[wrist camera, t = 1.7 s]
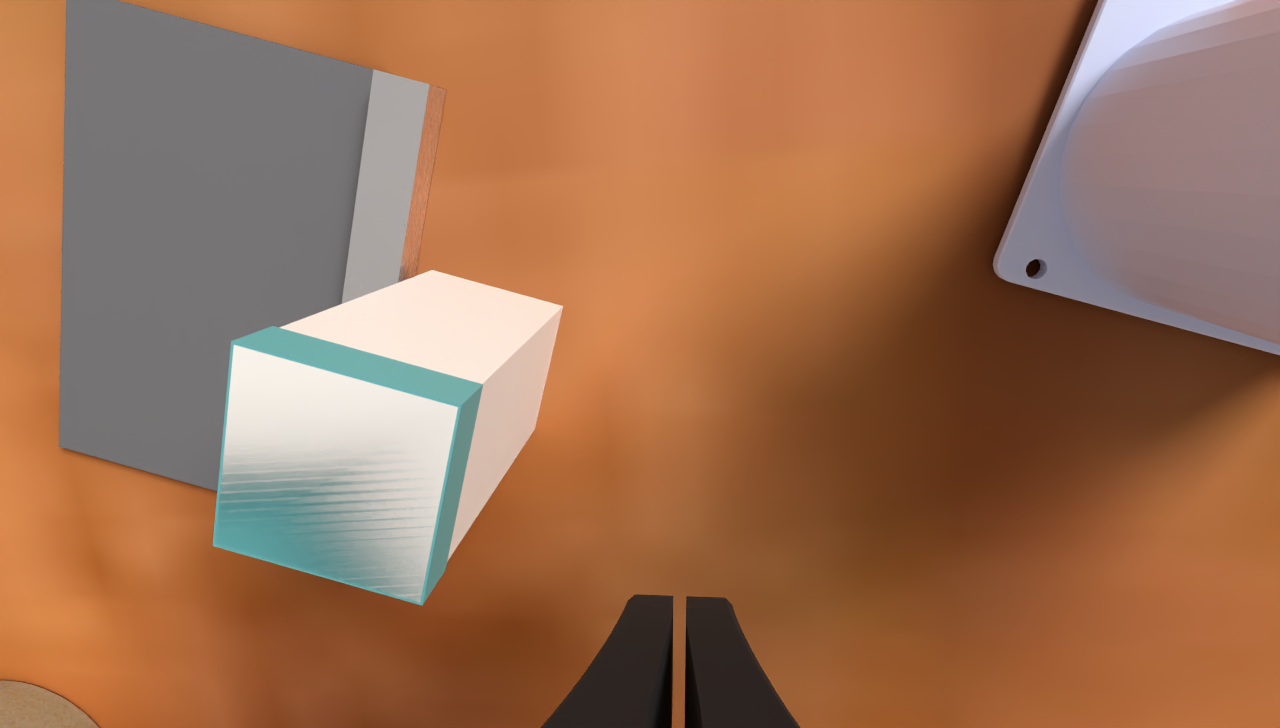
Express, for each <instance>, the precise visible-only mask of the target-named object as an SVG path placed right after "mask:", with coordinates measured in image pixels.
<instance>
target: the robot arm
mask: <svg viewBox="0 0 1280 728" xmlns="http://www.w3.org/2000/svg"><path fill="white" fill-rule="evenodd" d="M1034 259H1038V260H1039V262H1040V270H1039V271H1038V273H1037V274H1036V275H1034V276H1032V277H1028V276H1027V273H1026V266H1027V265H1028V264H1029V262H1030V261H1032V260H1034ZM993 268H994V272H995V273H996V274H997V276H998V277H999V278H1001V279H1003V280H1006V281H1008V282H1011V283H1015V284H1019V285H1022V286H1026V287H1030V288H1033V289H1037V290H1041V291H1044V292H1048V293H1052V294H1055V295H1059V296H1063V297H1066V298H1070V299H1074V300H1078V301H1081V302H1085V303H1089V304H1092V305H1096V306H1100V307H1103V308H1107V309H1111V310H1114V311H1118V312H1122V313H1126V314H1129V315H1133V316H1137V317H1140V318H1144V319H1148V320H1151V321H1155V322H1159V323H1162V324H1166V325H1170V326H1173V327H1177V328H1181V329H1185V330H1188V331H1192V332H1196V333H1199V334H1203V335H1207V336H1210V337H1214V338H1218V339H1221V340H1225V341H1229V342H1232V343H1236V344H1240V345H1244V346H1247V347H1251V348H1255V349H1258V350H1262V351H1266V352H1269V353H1273V354H1277V355H1280V0H1098V3H1097V5H1096V8H1095V10H1094V13H1093V15H1092V17H1091V20H1090V22H1089V25H1088V27H1087V30H1086V32H1085V35H1084V37H1083V40H1082V42H1081V45H1080V47H1079V49H1078V52H1077V54H1076V57H1075V59H1074V62H1073V64H1072V67H1071V69H1070V72H1069V74H1068V77H1067V79H1066V82H1065V84H1064V86H1063V89H1062V91H1061V94H1060V96H1059V99H1058V101H1057V104H1056V106H1055V109H1054V111H1053V114H1052V116H1051V118H1050V121H1049V123H1048V126H1047V128H1046V131H1045V133H1044V136H1043V138H1042V141H1041V143H1040V146H1039V148H1038V151H1037V153H1036V155H1035V158H1034V160H1033V163H1032V165H1031V168H1030V170H1029V173H1028V175H1027V178H1026V180H1025V183H1024V185H1023V188H1022V190H1021V192H1020V195H1019V197H1018V200H1017V202H1016V205H1015V207H1014V210H1013V212H1012V215H1011V217H1010V220H1009V222H1008V224H1007V227H1006V229H1005V232H1004V234H1003V237H1002V239H1001V242H1000V244H999V247H998V249H997V252H996V254H995V257H994V261H993ZM672 684H673V596H660V595H634V596H633V597H632V598H631V599H629V600H628V602H627V604H626V607H625V609H624V611H623V613H622V615H621V617H620V618H619V620H618V622H617V624H616V626H615V627H614V629H613V631H612V632H611V634H610V636H609V637H608V639H607V641H606V642H605V644H604V645H603V647H602V648H601V650H600V651H599V653H598V654H597V656H596V657H595V659H594V660H593V661H592V663H591V664H590V666H589V667H588V669H587V670H586V672H585V673H584V675H583V676H582V677H581V679H580V680H579V681H578V683H577V684H576V685H575V686H574V688H573V689H572V690H571V692H570V693H569V694H568V695H567V697H566V698H565V699H564V700H563V702H562V703H561V704H560V705H559V707H558V708H557V709H556V710H555V712H554V713H553V714H552V715H551V717H550V718H549V719H548V720H547V721H546V722H545V723H544V725H543V726H542V727H541V728H672ZM685 728H800V727H799V725H798V724H797V722H796V721H795V719H794V718H793V717H792V715H791V714H790V712H789V711H788V709H787V708H786V706H785V705H784V703H783V702H782V700H781V699H780V697H779V696H778V694H777V693H776V691H775V689H774V688H773V686H772V684H771V683H770V681H769V679H768V678H767V676H766V674H765V673H764V671H763V669H762V668H761V666H760V664H759V662H758V661H757V659H756V657H755V655H754V653H753V652H752V650H751V648H750V646H749V644H748V642H747V640H746V638H745V636H744V634H743V632H742V629H741V627H740V625H739V623H738V620H737V618H736V615H735V613H734V610H733V607H732V604H731V603H730V602H729V601H728V600H727V599H726V598H714V597H687V601H686V667H685Z"/></svg>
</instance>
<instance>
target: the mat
mask: <svg viewBox="0 0 1280 728" xmlns="http://www.w3.org/2000/svg"><path fill="white" fill-rule="evenodd" d="M372 77H373V69H370V68H366V67H362V66H358V65H355V64H351V63H347V62H344V61H340V60H336V59H333V58H329V57H325V56H321V55H318V54H314V53H310V52H307V51H303V50H299V49H295V48H292V47H288V46H284V45H281V44H277V43H273V42H270V41H266V40H262V39H258V38H255V37H251V36H247V35H244V34H240V33H236V32H232V31H229V30H225V29H221V28H218V27H214V26H210V25H207V24H203V23H199V22H195V21H192V20H188V19H184V18H181V17H177V16H173V15H169V14H166V13H162V12H158V11H155V10H151V9H147V8H144V7H140V6H136V5H132V4H129V3H125V2H121V1H118V0H66V55H65V113H64V171H63V230H62V288H61V347H60V405H59V447H62V448H66V449H70V450H73V451H77V452H80V453H84V454H87V455H91V456H94V457H98V458H101V459H105V460H108V461H112V462H115V463H119V464H122V465H126V466H129V467H133V468H136V469H140V470H143V471H147V472H151V473H154V474H158V475H161V476H165V477H168V478H172V479H175V480H179V481H182V482H186V483H189V484H193V485H196V486H200V487H203V488H207V489H210V490H214V491H217V492H218V481H219V470H220V459H221V448H222V437H223V426H224V415H225V404H226V393H227V382H228V371H229V360H230V349H231V341H233V340H236V339H239V338H241V337H244V336H247V335H249V334H252V333H255V332H258V331H260V330H263V329H266V328H268V327H271V326H275V327H282V326H285V325H287V324H290V323H293V322H295V321H298V320H301V319H303V318H306V317H309V316H311V315H314V314H317V313H319V312H322V311H325V310H327V309H330V308H333V307H335V306H338V305H341V304H342V297H343V289H344V282H345V275H346V267H347V260H348V253H349V245H350V238H351V231H352V223H353V216H354V209H355V201H356V194H357V187H358V179H359V172H360V165H361V157H362V150H363V143H364V135H365V128H366V121H367V113H368V106H369V99H370V91H371V84H372Z"/></svg>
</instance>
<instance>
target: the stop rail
mask: <svg viewBox="0 0 1280 728" xmlns="http://www.w3.org/2000/svg"><path fill="white" fill-rule="evenodd" d="M445 93H446V89H444V88H440V87H437V86H433V85H430V84H426V83H422V82H419V81H415V80H411V79H408V78H404V77H400V76H396V75H393V74H389V73H385V72H382V71H378V70H374V69H373V77H372V84H371V91H370V99H369V106H368V113H367V121H366V128H365V135H364V143H363V150H362V157H361V165H360V172H359V179H358V187H357V194H356V201H355V209H354V216H353V223H352V231H351V238H350V245H349V253H348V260H347V267H346V275H345V282H344V289H343V297H342V304H343V303H346V302H348V301H351V300H354V299H356V298H359V297H362V296H364V295H367V294H370V293H372V292H375V291H378V290H380V289H383V288H386V287H388V286H391V285H394V284H396V283H399V282H402V281H404V280H407V279H410V278H412V277H415V274H416V268H417V262H418V256H419V250H420V244H421V238H422V232H423V226H424V220H425V214H426V208H427V202H428V196H429V190H430V184H431V178H432V172H433V166H434V160H435V154H436V148H437V142H438V136H439V130H440V124H441V117H442V111H443V105H444V99H445Z"/></svg>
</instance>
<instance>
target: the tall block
mask: <svg viewBox="0 0 1280 728" xmlns="http://www.w3.org/2000/svg"><path fill="white" fill-rule="evenodd" d="M562 309H563V306H561V305H557V304H553V303H550V302H546V301H543V300H539V299H535V298H532V297H528V296H524V295H521V294H517V293H514V292H510V291H506V290H503V289H499V288H495V287H492V286H488V285H484V284H481V283H477V282H474V281H470V280H466V279H463V278H459V277H455V276H452V275H448V274H444V273H441V272H437V271H434V270H431V271H428V272H426V273H423V274H420V275H418V276H415V277H412V278H410V279H407V280H404V281H402V282H399V283H396V284H394V285H391V286H388V287H386V288H383V289H380V290H378V291H375V292H372V293H370V294H367V295H364V296H362V297H359V298H356V299H354V300H351V301H348V302H346V303H343V304H341V305H338V306H335V307H333V308H330V309H327V310H325V311H322V312H319V313H317V314H314V315H311V316H309V317H306V318H303V319H301V320H298V321H295V322H293V323H290V324H287V325H285V326H282V327H275V326H271V327H268V328H266V329H263V330H260V331H258V332H255V333H252V334H249V335H247V336H244V337H241V338H239V339H236V340H233V341H231V349H230V360H229V371H228V382H227V393H226V404H225V415H224V426H223V437H222V448H221V459H220V470H219V481H218V492H217V503H216V514H215V525H214V536H213V546H215V547H218V548H222V549H226V550H229V551H233V552H236V553H240V554H243V555H247V556H250V557H254V558H257V559H261V560H264V561H268V562H271V563H275V564H278V565H282V566H285V567H289V568H292V569H296V570H299V571H303V572H306V573H310V574H313V575H317V576H320V577H324V578H327V579H331V580H334V581H338V582H341V583H345V584H348V585H352V586H355V587H359V588H362V589H366V590H369V591H373V592H376V593H380V594H383V595H387V596H391V597H394V598H398V599H401V600H405V601H408V602H412V603H415V604H419V605H423V604H424V602H425V601H426V599H427V598H428V596H429V595H430V593H431V591H432V590H433V588H434V587H435V585H436V584H437V582H438V581H439V579H440V578H441V576H442V575H443V573H444V572H445V570H446V565H447V561H448V560H449V558H450V557H451V555H452V554H453V552H454V551H455V549H456V548H457V546H458V545H459V543H460V542H461V540H462V539H463V537H464V536H465V534H466V533H467V531H468V530H469V528H470V526H471V525H472V523H473V522H474V520H475V519H476V517H477V516H478V514H479V513H480V511H481V510H482V508H483V507H484V505H485V504H486V502H487V501H488V499H489V498H490V496H491V495H492V493H493V492H494V490H495V489H496V487H497V486H498V484H499V483H500V481H501V480H502V478H503V477H504V475H505V474H506V472H507V471H508V469H509V468H510V466H511V464H512V463H513V461H514V460H515V458H516V457H517V455H518V454H519V452H520V451H521V449H522V448H523V446H524V445H525V443H526V442H527V440H528V439H529V437H530V436H531V434H532V433H533V431H534V430H535V426H536V422H537V417H538V413H539V409H540V404H541V400H542V396H543V391H544V387H545V383H546V378H547V374H548V370H549V365H550V361H551V357H552V352H553V348H554V344H555V339H556V335H557V331H558V326H559V322H560V318H561V313H562Z"/></svg>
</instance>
